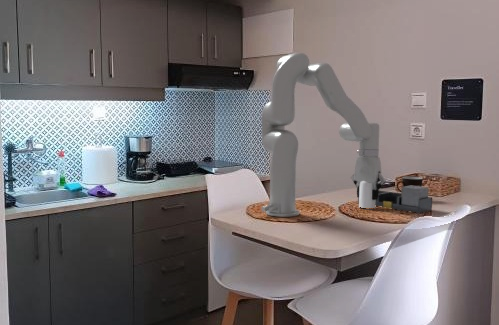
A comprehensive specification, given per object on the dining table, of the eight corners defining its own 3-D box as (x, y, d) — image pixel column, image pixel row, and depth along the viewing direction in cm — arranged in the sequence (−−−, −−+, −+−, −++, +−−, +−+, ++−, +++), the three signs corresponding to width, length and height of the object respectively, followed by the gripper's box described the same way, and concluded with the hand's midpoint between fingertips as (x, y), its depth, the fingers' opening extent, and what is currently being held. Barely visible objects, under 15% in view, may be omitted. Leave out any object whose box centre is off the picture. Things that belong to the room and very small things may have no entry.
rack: (419, 213, 190) (420, 189, 189) (357, 203, 210) (358, 182, 209) (431, 210, 196) (432, 187, 195) (370, 201, 216) (371, 180, 215)
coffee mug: (419, 199, 223) (420, 176, 222) (424, 202, 214) (425, 179, 213) (392, 198, 224) (393, 176, 223) (396, 201, 215) (397, 178, 214)
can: (371, 210, 196) (372, 180, 195) (356, 208, 200) (357, 178, 199) (377, 207, 201) (378, 178, 200) (362, 206, 205) (363, 177, 204)
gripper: (345, 152, 202) (344, 196, 204) (382, 155, 189) (381, 202, 191) (355, 151, 207) (354, 194, 209) (393, 154, 195) (391, 200, 196)
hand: (367, 197), depth 200 cm, fingers closed on can, 6 cm apart
